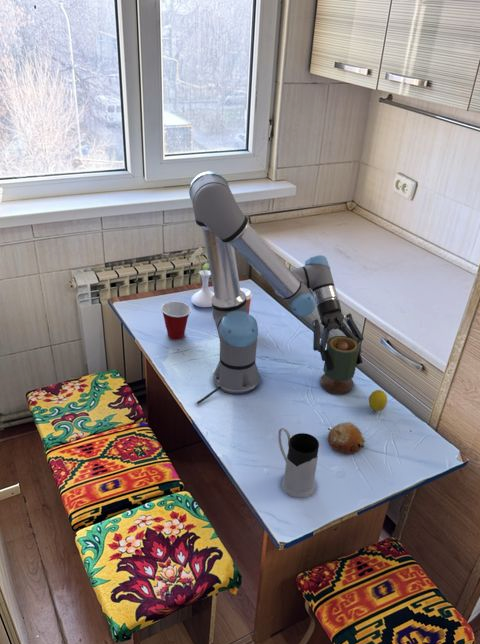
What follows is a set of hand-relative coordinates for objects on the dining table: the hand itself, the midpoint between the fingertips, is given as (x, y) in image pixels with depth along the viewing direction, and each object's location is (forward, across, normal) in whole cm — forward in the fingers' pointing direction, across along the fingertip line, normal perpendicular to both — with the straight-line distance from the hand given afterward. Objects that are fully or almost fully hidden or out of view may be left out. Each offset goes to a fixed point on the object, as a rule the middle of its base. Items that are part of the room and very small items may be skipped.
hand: (345, 366), depth 181 cm
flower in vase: (-43, +25, -55) cm, 74 cm away
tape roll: (+1, 0, -5) cm, 5 cm away
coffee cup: (-27, +17, -41) cm, 52 cm away
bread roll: (+23, +12, +10) cm, 28 cm away
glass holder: (+28, +33, +15) cm, 46 cm away
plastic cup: (-28, +42, -41) cm, 65 cm away
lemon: (+16, -5, +3) cm, 17 cm away
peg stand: (+4, 0, -9) cm, 10 cm away
